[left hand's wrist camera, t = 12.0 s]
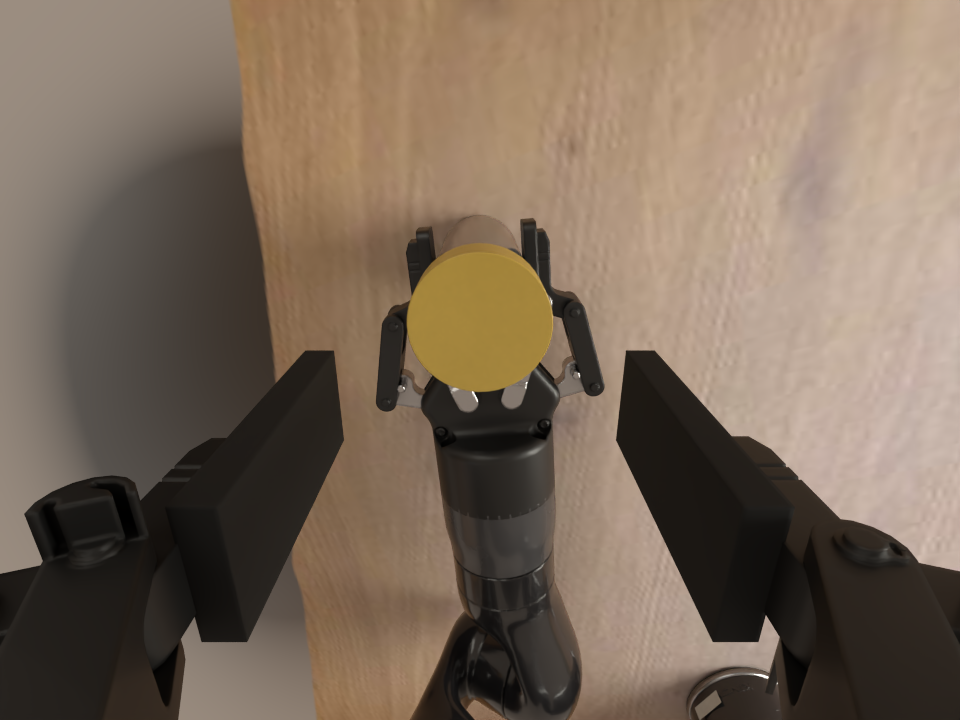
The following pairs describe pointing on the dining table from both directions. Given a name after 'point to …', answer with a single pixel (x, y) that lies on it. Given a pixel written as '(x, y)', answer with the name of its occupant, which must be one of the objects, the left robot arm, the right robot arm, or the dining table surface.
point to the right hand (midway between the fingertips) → (475, 225)
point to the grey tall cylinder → (479, 234)
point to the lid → (479, 318)
